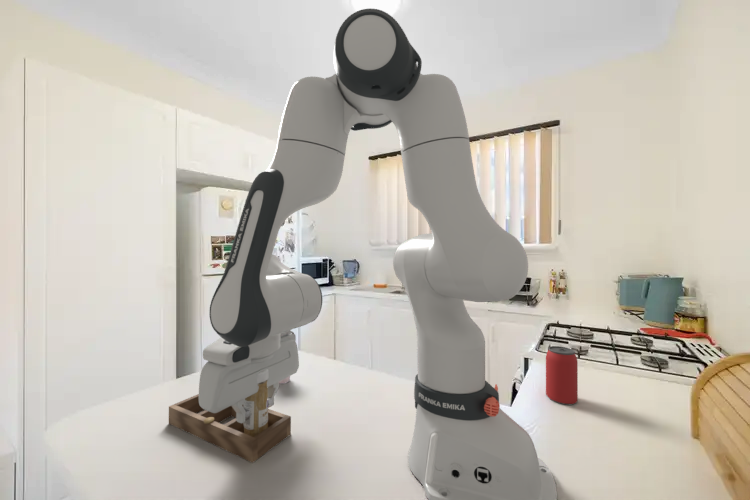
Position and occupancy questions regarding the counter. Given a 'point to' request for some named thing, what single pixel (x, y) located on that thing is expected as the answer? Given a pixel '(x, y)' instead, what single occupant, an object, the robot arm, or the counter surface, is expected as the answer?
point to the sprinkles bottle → (257, 407)
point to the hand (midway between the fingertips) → (255, 413)
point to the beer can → (562, 375)
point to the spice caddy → (229, 428)
